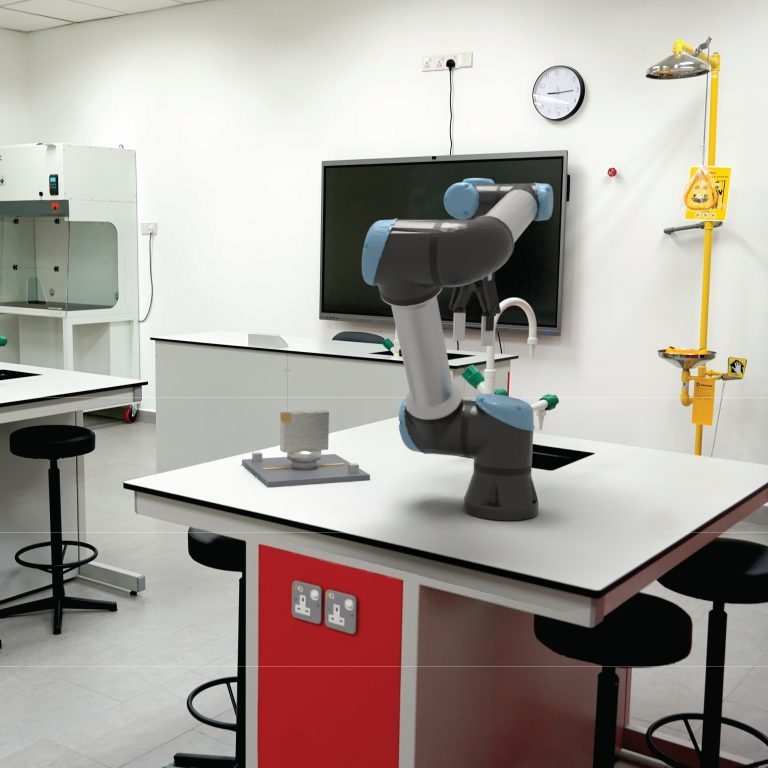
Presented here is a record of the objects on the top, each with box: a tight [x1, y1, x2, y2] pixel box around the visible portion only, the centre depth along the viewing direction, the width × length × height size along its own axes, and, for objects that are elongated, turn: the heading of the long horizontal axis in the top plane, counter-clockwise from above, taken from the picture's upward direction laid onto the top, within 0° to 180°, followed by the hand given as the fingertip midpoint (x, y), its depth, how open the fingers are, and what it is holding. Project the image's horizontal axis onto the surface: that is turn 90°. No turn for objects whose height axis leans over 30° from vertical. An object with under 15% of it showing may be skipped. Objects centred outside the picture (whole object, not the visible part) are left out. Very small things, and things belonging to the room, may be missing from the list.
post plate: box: [241, 451, 371, 488], centre depth 214 cm, size 24×24×3 cm
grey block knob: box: [279, 409, 330, 462], centre depth 213 cm, size 11×8×11 cm
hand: (472, 343), depth 206 cm, fingers open, 13 cm apart
